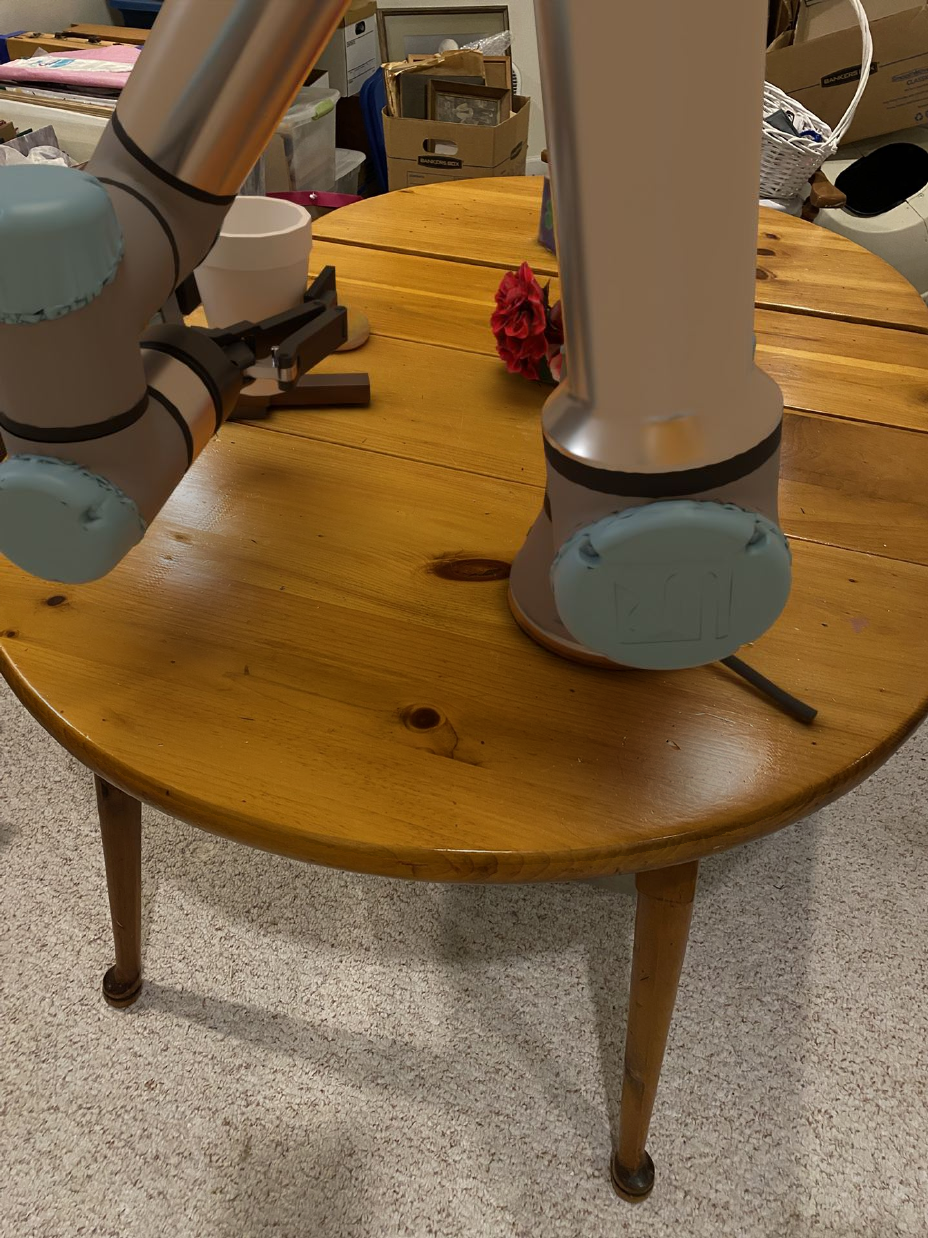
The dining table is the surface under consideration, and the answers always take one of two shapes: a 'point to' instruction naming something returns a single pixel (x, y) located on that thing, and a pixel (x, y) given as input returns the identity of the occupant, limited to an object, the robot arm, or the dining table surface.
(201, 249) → the robot arm
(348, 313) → the bread roll
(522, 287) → the carnation
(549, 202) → the flask
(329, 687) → the dining table surface
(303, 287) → the foam cup
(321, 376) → the brush
